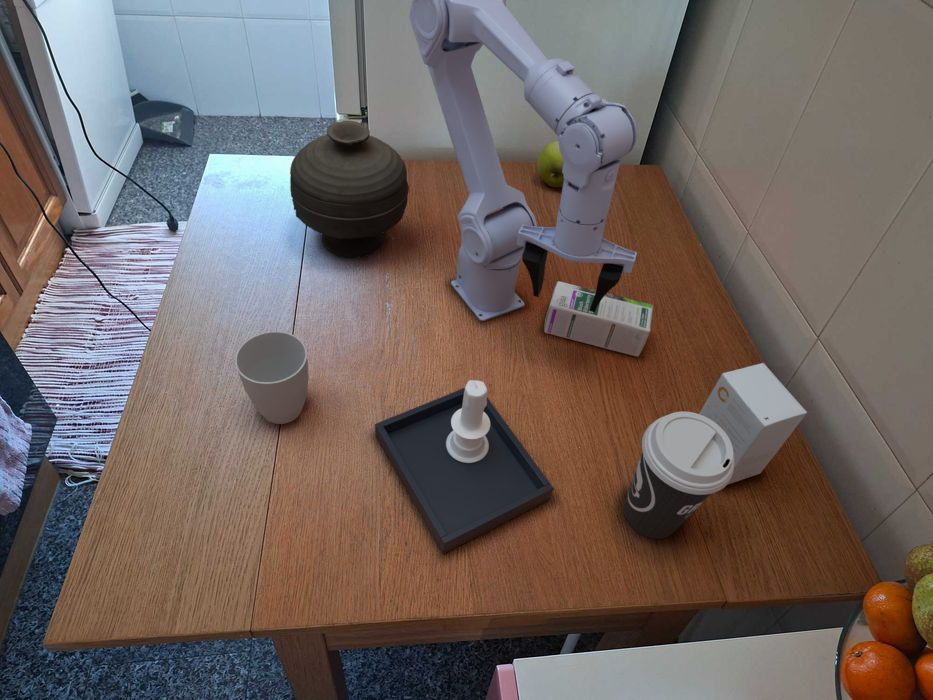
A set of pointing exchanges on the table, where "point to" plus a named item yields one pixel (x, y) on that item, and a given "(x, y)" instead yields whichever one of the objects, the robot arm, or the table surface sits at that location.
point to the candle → (470, 425)
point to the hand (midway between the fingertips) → (565, 299)
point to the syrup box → (598, 319)
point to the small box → (753, 416)
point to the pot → (349, 189)
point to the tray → (460, 472)
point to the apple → (551, 165)
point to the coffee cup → (677, 472)
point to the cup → (274, 374)
